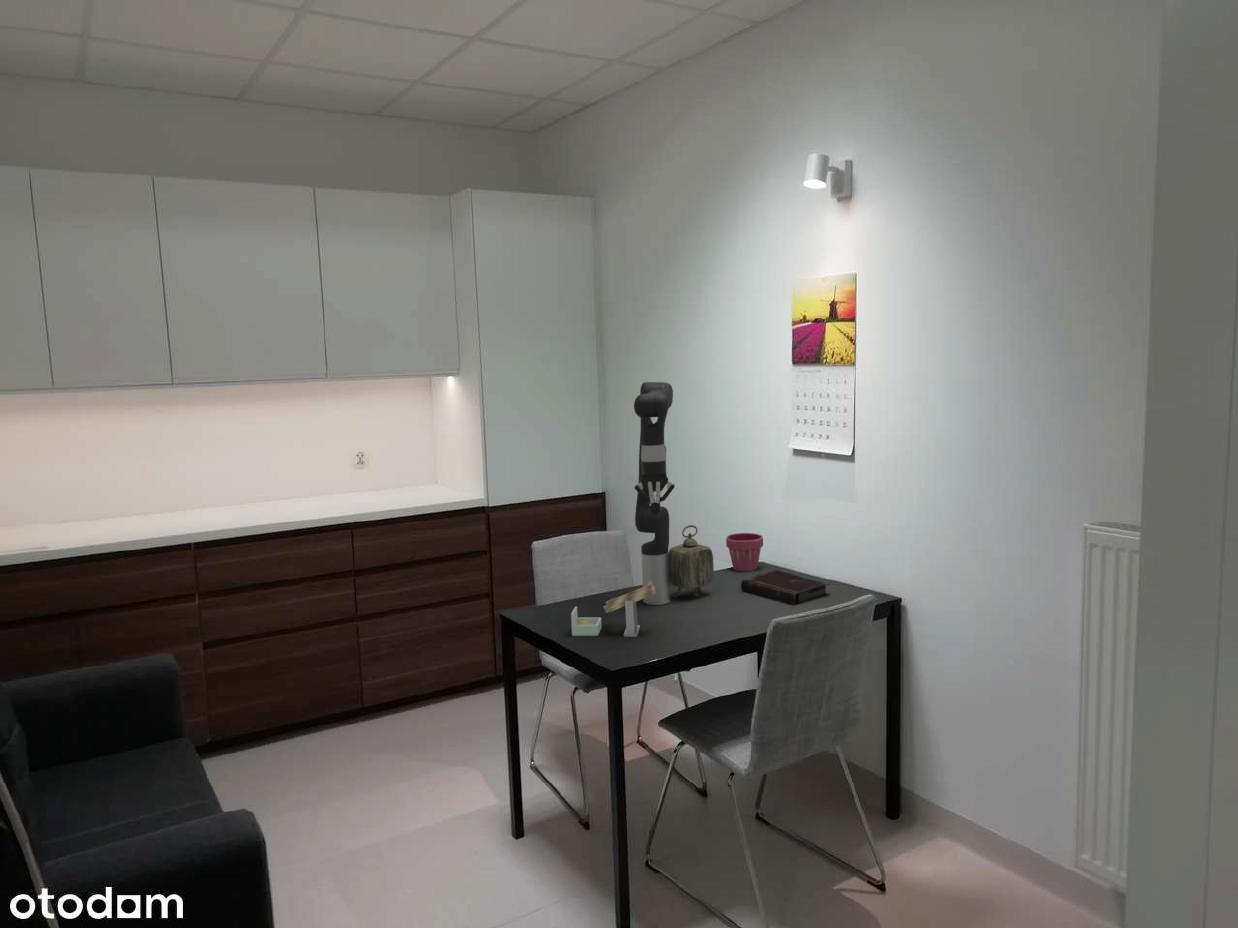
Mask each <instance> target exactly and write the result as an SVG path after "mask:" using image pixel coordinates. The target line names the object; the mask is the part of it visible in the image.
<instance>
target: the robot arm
mask: <svg viewBox="0 0 1238 928" xmlns="http://www.w3.org/2000/svg"><path fill="white" fill-rule="evenodd" d="M673 399H674V390H673V387H672V385H671V383H668V382H664V381H663V382H661V381H660V382H658V381H657V382H655V381H644V382H642V384H641V386H640V390H639V394H638V395H637V396H636V398H635V399H634V402H633V410H634V413H635V414H636V416H637V417H639V418H640V435H639V446H638V447H639V451H638V453H639V454H638V483H637V484H635V486H634V490H635V491H636V492H637V497H636V506H635V513H634V515H635V517H634V521H635V529H636V530H637V531H638V532H640V533H645V534H647V533H648V534H654V538H653V539H652V540H651V541H647V542H644V543H642V545H641V546H640V549H641V551H640V552H641V571H642V574H641V575H642V587H645V586H647V585H648V583H649V581H651V580H652V582H653V585H654V587H655V589H656V591H655V594H654V595H651V596H649V597H646V598H644V599H642V601H643V603H644V604H645V603H646V604H645V605H649V606H660V605H661V606H662V605H666V604H669V603H670V602H671V589H670V588H671V586H670V585H671V584H670V581H669V556H668V553H669V545H670V514H669V510H668V509H667V508H666V507H665V506H661V502H664V501H666V500H667V498H668V497H669V495H670V494H671V493H672V491H673V490H674V489H675V486H676V484H675V483H672V482H670V481H669V477H668V476H667V447H666V445H665V425H666V420H667V416H668V413H669V409H670V408H671V407H672V405H673V401H674V400H673ZM652 418H657V419H656V421H655V422H654V423H653V420H652ZM665 487H666V489H667V490H666V491H665V493H664V494H663V495H662V496H661V493H662V491H663V490H664V489H665Z"/></svg>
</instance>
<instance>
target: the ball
mask: <svg viewBox="0 0 1238 928" xmlns="http://www.w3.org/2000/svg"><path fill="white" fill-rule="evenodd" d="M579 625H589V623H588V622H587V621H581V622H580V623H579Z"/></svg>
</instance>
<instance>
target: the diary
mask: <svg viewBox="0 0 1238 928" xmlns="http://www.w3.org/2000/svg"><path fill="white" fill-rule="evenodd" d="M829 585H830V583H827V582H822V581H819V580H816V579H815V580H814V579H810V578H806V577H802V576H800V575H797V574H793V573H791V572H786V571H782V570H779V569H778V570H777V569H775V570H772V571H767V572H763V573H759V574H757V575H753V576H750V577H748V578H745V579H742V580H741V583H740V589H741V591H742V592H745V593H749V594H751V595H755V596H760V597H763V598H767V599H769V600H774V601H779V602H781V603H785V604H789V605H793V606H796V604H798V605H799V604H800V603H804V602H807V601H810V600H819V599H821V598H824V597H828V596H829V595H830V594H831V593H827V590H826V588H827V587H826V586H829Z"/></svg>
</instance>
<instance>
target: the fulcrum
mask: <svg viewBox="0 0 1238 928" xmlns="http://www.w3.org/2000/svg"><path fill="white" fill-rule="evenodd" d="M624 608H625V630H624V633H623V638H626V637H627V638H628V637H629V638H630V637H633V638H636V637H638V635H639V632H640V628H641V624H638V613H637V611H638V610H637V601H636V602H633V600H625V606H624Z"/></svg>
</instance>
